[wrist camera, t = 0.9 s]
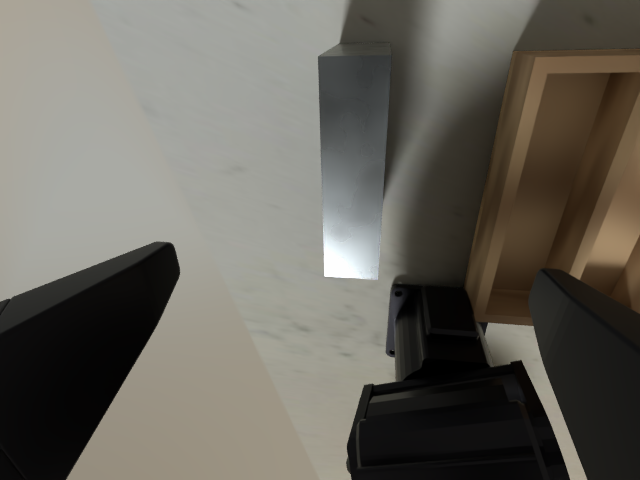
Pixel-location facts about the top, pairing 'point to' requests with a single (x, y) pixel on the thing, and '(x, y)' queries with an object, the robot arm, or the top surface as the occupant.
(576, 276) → the tray
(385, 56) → the panel
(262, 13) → the top surface
